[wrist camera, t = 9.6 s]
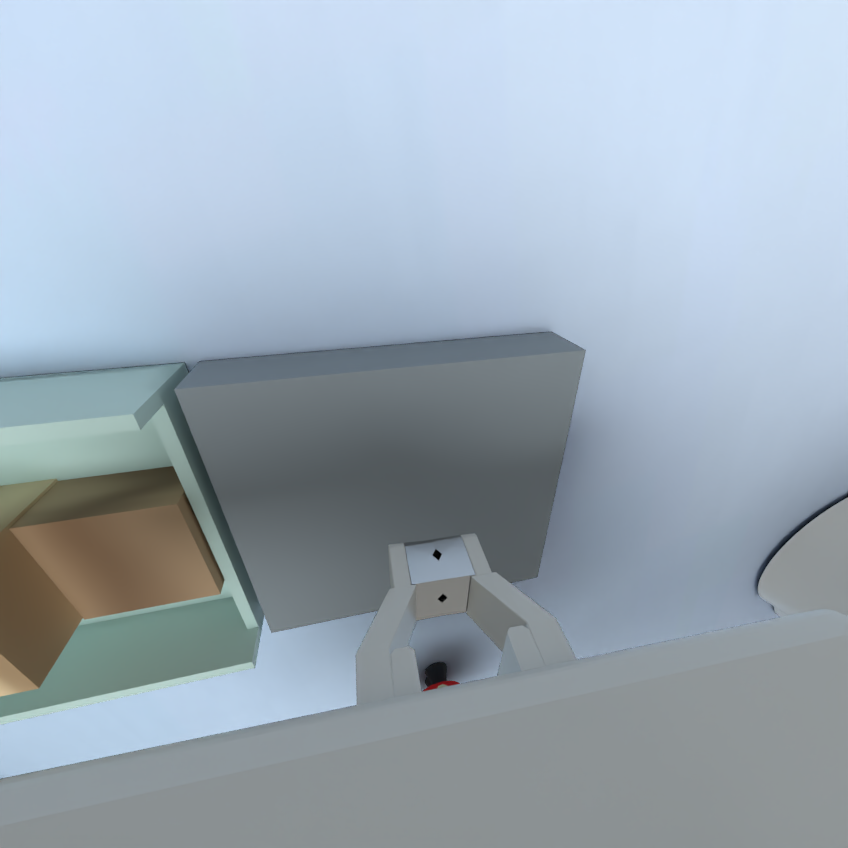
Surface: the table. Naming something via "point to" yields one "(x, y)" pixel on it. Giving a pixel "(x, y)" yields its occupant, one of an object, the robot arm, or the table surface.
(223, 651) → the bin
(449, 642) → the table surface
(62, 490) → the tile
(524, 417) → the board
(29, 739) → the table surface
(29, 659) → the tile
